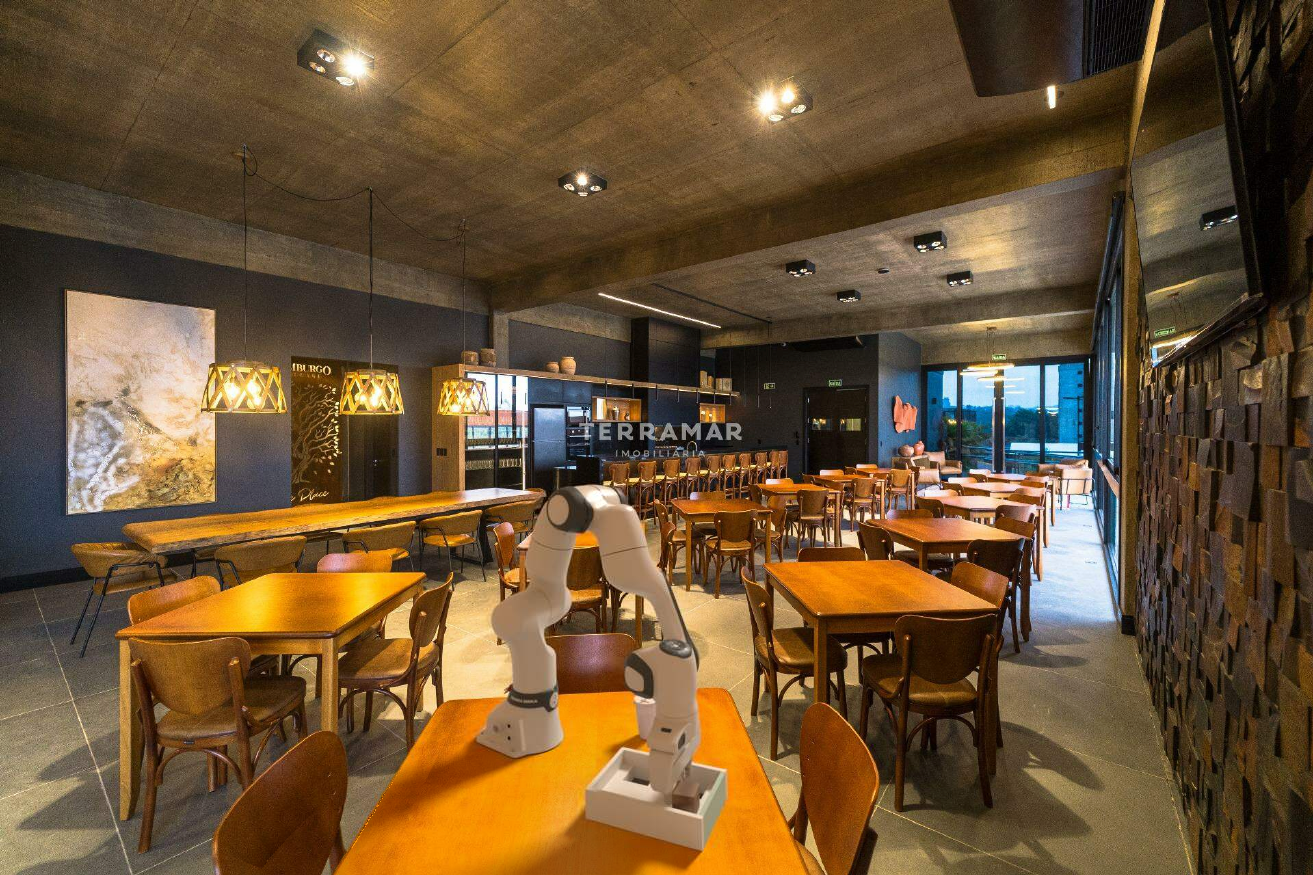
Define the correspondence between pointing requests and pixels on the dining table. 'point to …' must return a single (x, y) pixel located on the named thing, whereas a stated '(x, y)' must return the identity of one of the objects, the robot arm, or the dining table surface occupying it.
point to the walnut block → (686, 797)
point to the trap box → (654, 800)
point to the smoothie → (644, 715)
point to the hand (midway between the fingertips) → (678, 788)
